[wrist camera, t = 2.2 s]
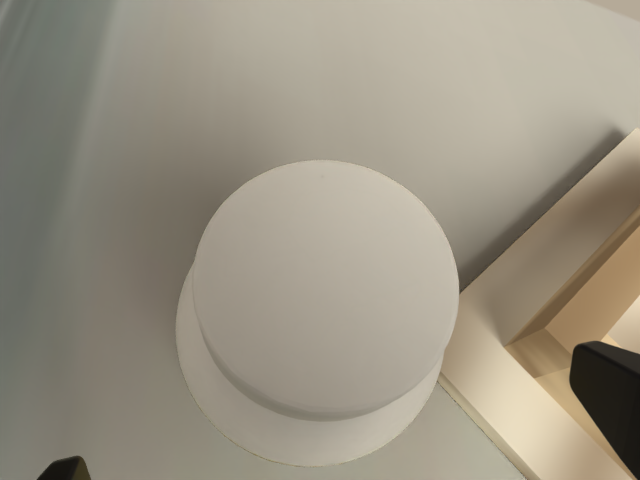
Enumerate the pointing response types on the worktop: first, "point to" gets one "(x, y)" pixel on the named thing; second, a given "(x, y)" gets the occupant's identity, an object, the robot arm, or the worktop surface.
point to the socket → (552, 324)
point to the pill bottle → (317, 313)
